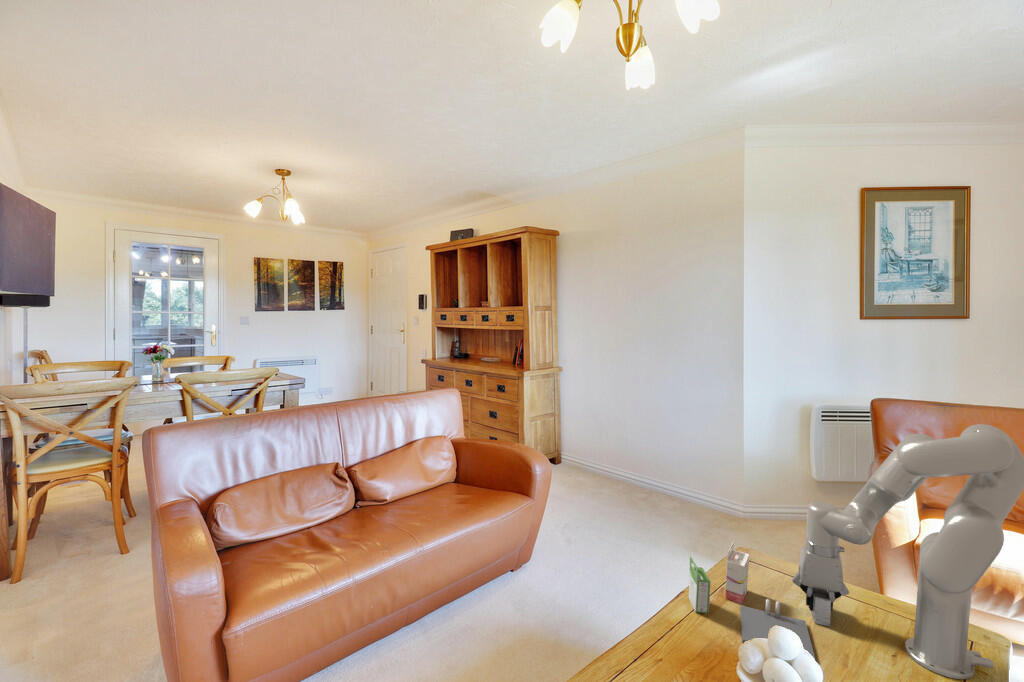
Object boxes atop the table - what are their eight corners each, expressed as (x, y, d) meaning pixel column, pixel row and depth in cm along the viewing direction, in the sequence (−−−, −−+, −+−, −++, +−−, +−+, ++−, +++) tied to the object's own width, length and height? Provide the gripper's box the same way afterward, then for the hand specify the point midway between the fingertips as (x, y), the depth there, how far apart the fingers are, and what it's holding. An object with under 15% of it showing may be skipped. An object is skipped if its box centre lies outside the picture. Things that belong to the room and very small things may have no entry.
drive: (822, 605, 136) (823, 581, 135) (830, 626, 126) (831, 601, 126) (808, 601, 137) (809, 579, 137) (814, 623, 128) (815, 598, 127)
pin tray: (804, 624, 128) (805, 606, 127) (815, 662, 114) (816, 643, 114) (740, 608, 134) (740, 592, 134) (742, 643, 120) (743, 624, 120)
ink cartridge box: (743, 605, 136) (745, 556, 135) (724, 598, 139) (726, 551, 138) (748, 590, 143) (750, 544, 142) (730, 584, 146) (732, 539, 144)
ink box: (709, 614, 132) (711, 568, 131) (695, 613, 132) (696, 568, 131) (701, 598, 139) (703, 555, 138) (688, 598, 139) (689, 554, 138)
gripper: (853, 547, 130) (850, 609, 132) (785, 535, 137) (783, 595, 138) (861, 560, 124) (858, 626, 125) (789, 547, 130) (787, 610, 132)
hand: (819, 609), depth 132 cm, fingers closed on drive, 3 cm apart
